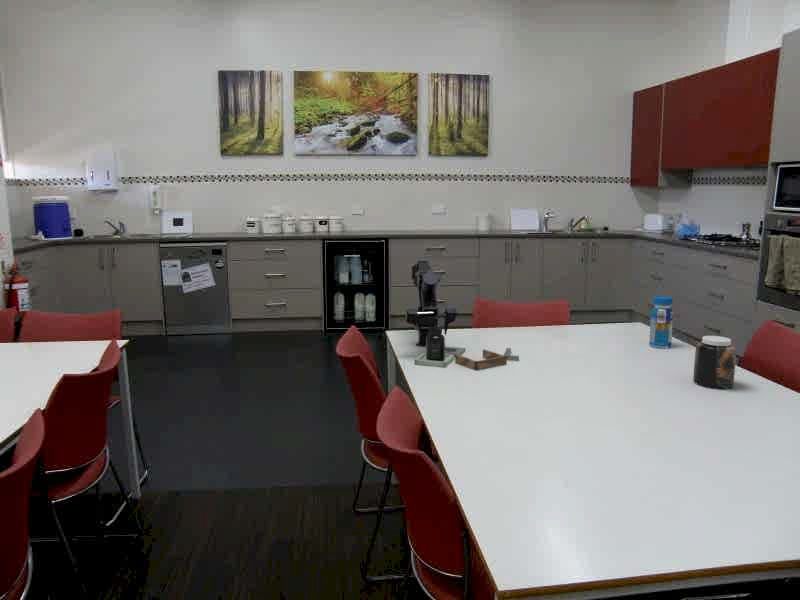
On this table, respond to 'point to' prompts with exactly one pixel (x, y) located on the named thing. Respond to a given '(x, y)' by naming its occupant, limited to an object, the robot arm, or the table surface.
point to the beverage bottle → (661, 322)
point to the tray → (423, 361)
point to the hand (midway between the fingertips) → (433, 334)
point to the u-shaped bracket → (490, 360)
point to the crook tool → (510, 357)
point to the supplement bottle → (435, 345)
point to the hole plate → (454, 350)
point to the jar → (715, 362)
